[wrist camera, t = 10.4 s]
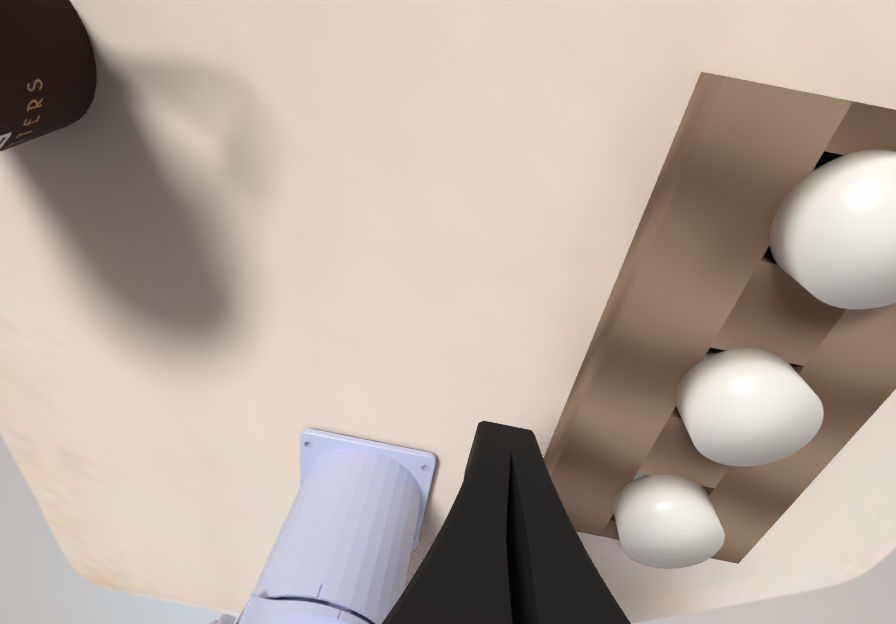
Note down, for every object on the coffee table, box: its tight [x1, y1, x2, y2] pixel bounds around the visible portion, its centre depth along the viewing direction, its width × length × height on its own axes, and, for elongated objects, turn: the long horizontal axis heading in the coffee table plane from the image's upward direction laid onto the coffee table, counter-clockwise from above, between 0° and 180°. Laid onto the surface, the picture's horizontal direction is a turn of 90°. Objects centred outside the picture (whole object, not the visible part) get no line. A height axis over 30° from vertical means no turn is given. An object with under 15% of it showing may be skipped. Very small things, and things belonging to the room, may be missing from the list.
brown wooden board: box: [544, 72, 896, 564], centre depth 21 cm, size 23×12×2 cm, turn 170°
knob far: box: [613, 473, 725, 569], centre depth 24 cm, size 5×5×4 cm
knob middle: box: [675, 347, 824, 467], centre depth 20 cm, size 5×5×4 cm
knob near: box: [769, 149, 896, 310], centre depth 16 cm, size 5×5×4 cm
